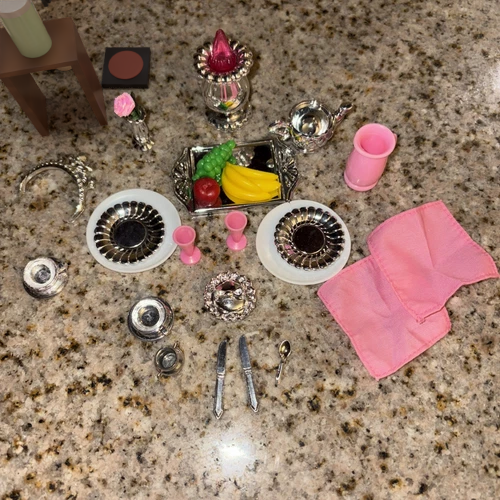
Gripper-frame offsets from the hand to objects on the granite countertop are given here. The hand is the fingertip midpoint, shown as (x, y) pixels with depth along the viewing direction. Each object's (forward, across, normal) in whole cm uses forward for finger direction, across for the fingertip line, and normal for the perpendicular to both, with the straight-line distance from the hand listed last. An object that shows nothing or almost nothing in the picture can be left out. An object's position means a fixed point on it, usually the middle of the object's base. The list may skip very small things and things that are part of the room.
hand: (19, 7), depth 82 cm
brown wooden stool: (+2, 0, +26) cm, 26 cm away
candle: (-11, 0, +26) cm, 28 cm away
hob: (-6, +13, +26) cm, 30 cm away
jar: (+2, 0, +6) cm, 6 cm away
